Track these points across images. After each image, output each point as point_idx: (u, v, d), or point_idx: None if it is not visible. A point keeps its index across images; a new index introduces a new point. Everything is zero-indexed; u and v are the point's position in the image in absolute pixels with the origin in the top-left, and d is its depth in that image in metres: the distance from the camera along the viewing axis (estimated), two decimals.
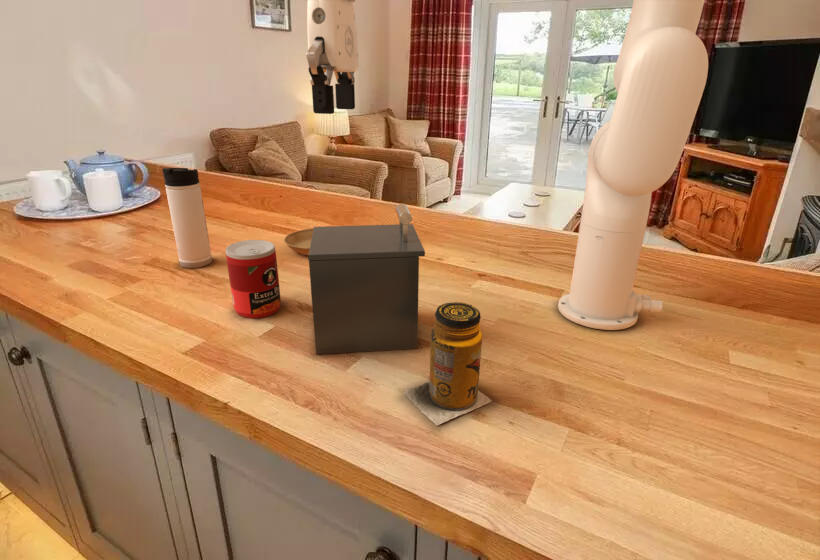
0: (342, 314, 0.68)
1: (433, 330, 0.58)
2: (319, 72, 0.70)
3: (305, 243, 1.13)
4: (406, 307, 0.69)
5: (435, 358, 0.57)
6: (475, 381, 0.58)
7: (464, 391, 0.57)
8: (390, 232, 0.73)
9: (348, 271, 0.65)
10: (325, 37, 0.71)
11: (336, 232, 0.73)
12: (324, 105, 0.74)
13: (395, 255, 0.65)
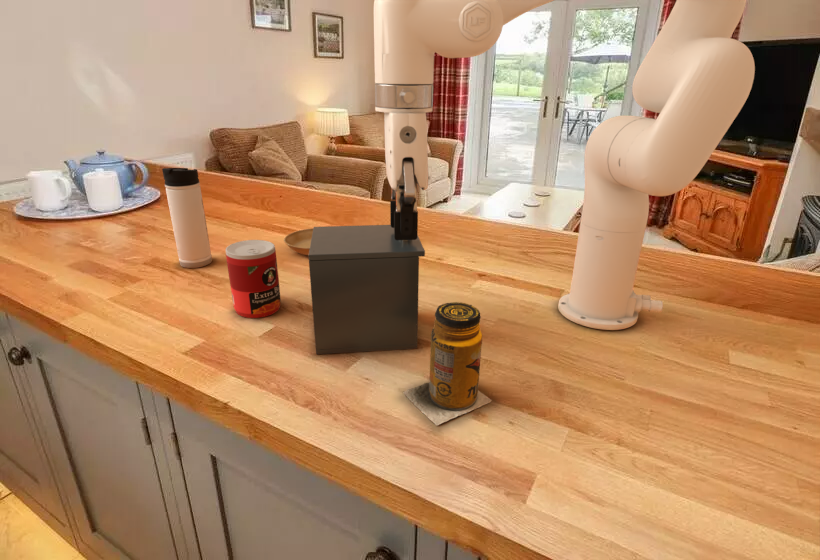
0: (342, 314, 0.68)
1: (433, 330, 0.58)
2: (414, 203, 0.64)
3: (305, 243, 1.13)
4: (406, 307, 0.69)
5: (435, 358, 0.57)
6: (475, 381, 0.58)
7: (464, 391, 0.57)
8: (390, 232, 0.73)
9: (348, 271, 0.65)
10: (415, 157, 0.62)
11: (336, 232, 0.73)
12: (410, 232, 0.67)
13: (395, 255, 0.65)
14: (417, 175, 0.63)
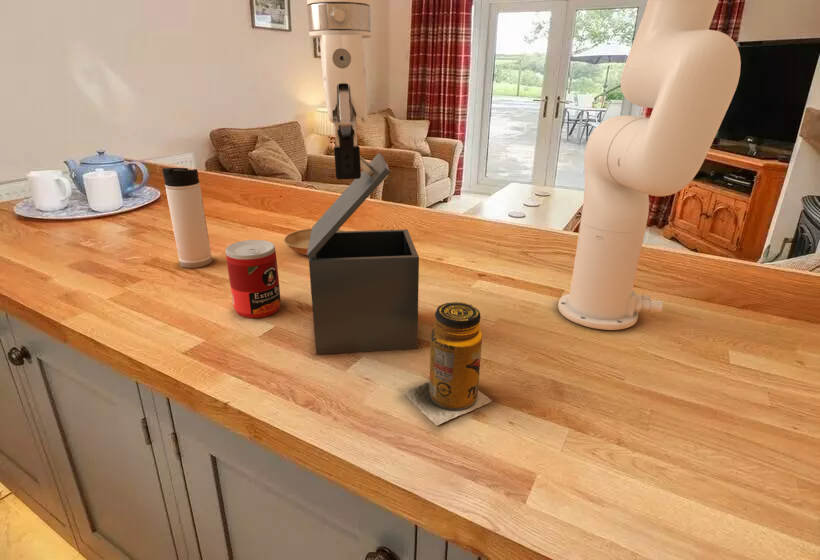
0: (342, 314, 0.68)
1: (433, 330, 0.58)
2: (352, 135, 0.59)
3: (305, 243, 1.13)
4: (406, 307, 0.69)
5: (435, 358, 0.57)
6: (475, 381, 0.58)
7: (464, 391, 0.57)
8: (362, 177, 0.69)
9: (348, 271, 0.65)
10: (351, 84, 0.58)
11: (326, 216, 0.72)
12: (352, 170, 0.63)
13: (367, 194, 0.62)
14: (354, 104, 0.58)
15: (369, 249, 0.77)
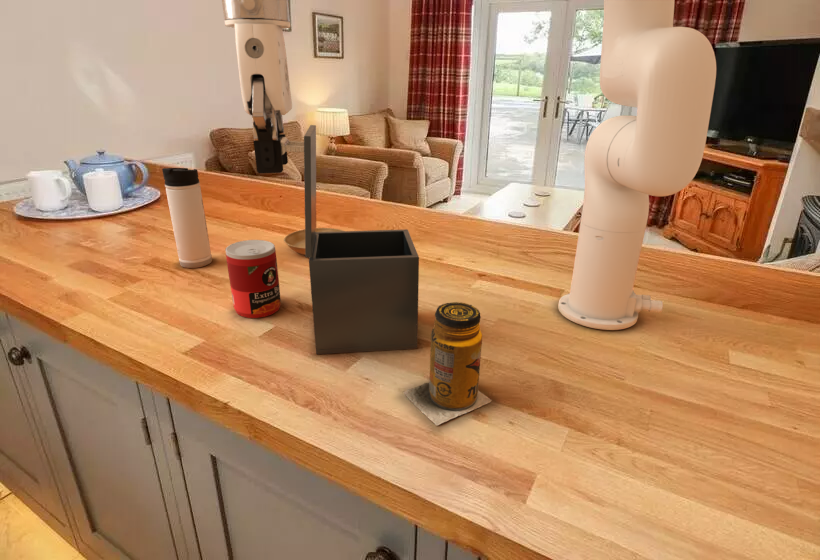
0: (342, 314, 0.68)
1: (433, 330, 0.58)
2: (268, 127, 0.58)
3: None
4: (406, 307, 0.69)
5: (435, 358, 0.57)
6: (475, 381, 0.58)
7: (464, 391, 0.57)
8: None
9: (348, 271, 0.65)
10: (265, 75, 0.56)
11: None
12: (272, 164, 0.61)
13: (308, 169, 0.60)
14: (269, 95, 0.57)
15: (369, 249, 0.77)
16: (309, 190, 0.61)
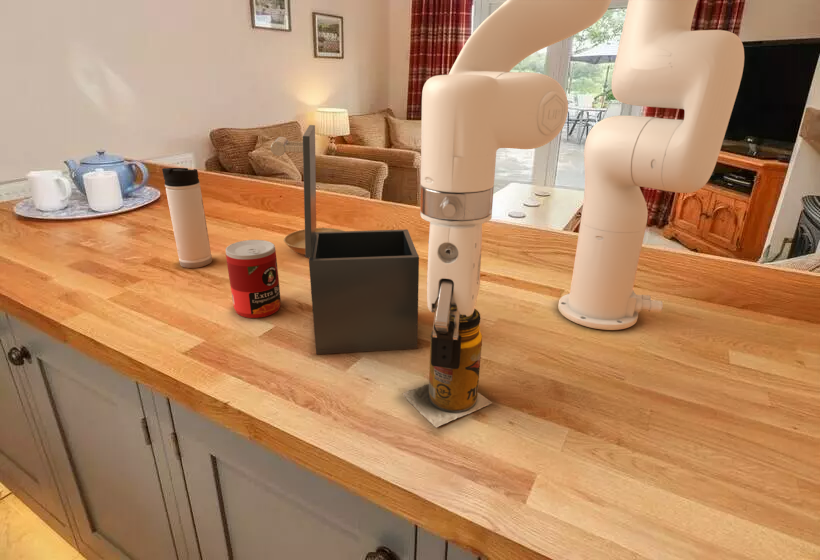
0: (342, 314, 0.68)
1: None
2: (450, 333, 0.51)
3: None
4: (406, 307, 0.69)
5: None
6: (475, 383, 0.58)
7: (463, 393, 0.57)
8: None
9: (348, 271, 0.65)
10: (455, 280, 0.49)
11: None
12: (449, 362, 0.54)
13: (307, 169, 0.60)
14: (457, 298, 0.50)
15: (369, 249, 0.77)
16: (308, 190, 0.61)
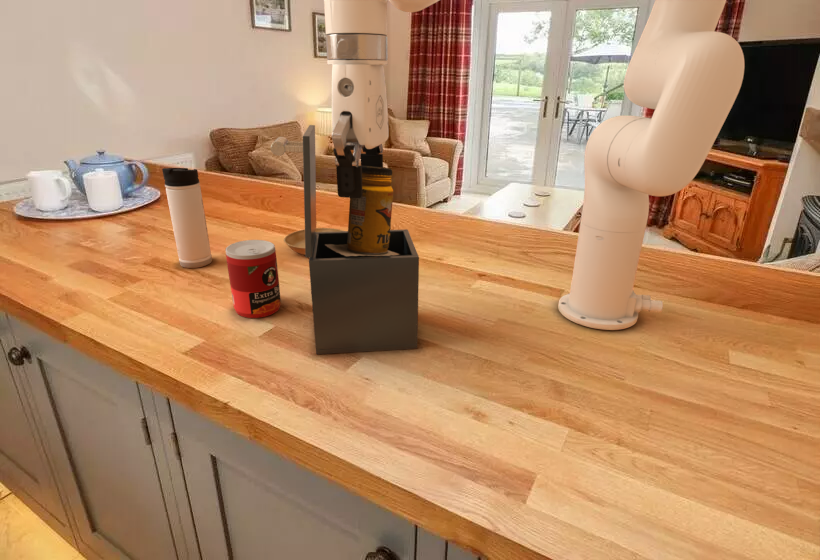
0: (342, 314, 0.68)
1: None
2: (346, 154, 0.59)
3: None
4: (406, 307, 0.69)
5: (351, 205, 0.68)
6: (384, 230, 0.68)
7: (373, 235, 0.67)
8: None
9: (348, 271, 0.65)
10: (353, 112, 0.59)
11: None
12: (351, 189, 0.62)
13: (307, 169, 0.60)
14: (355, 120, 0.59)
15: None
16: (308, 190, 0.61)
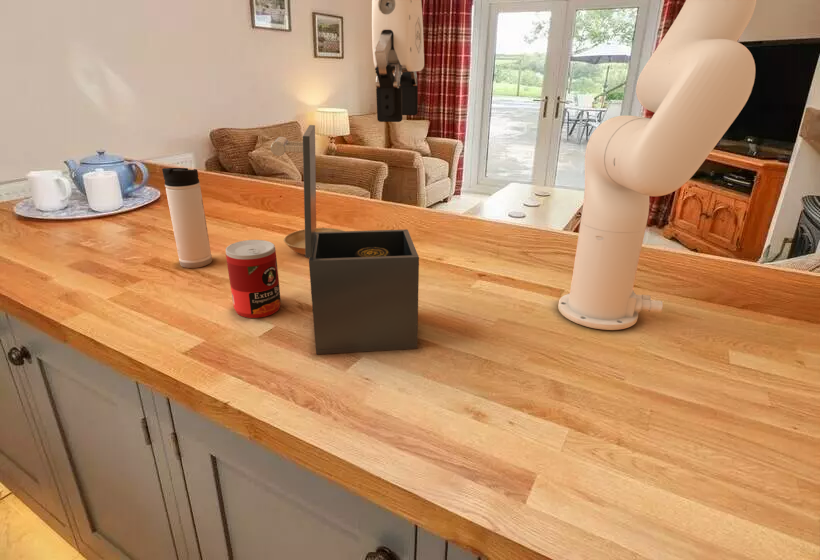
0: (342, 314, 0.68)
1: None
2: (389, 72, 0.58)
3: None
4: (406, 307, 0.69)
5: None
6: None
7: None
8: None
9: (348, 271, 0.65)
10: (394, 30, 0.59)
11: None
12: (392, 112, 0.62)
13: (307, 169, 0.60)
14: (396, 39, 0.59)
15: None
16: (308, 190, 0.61)
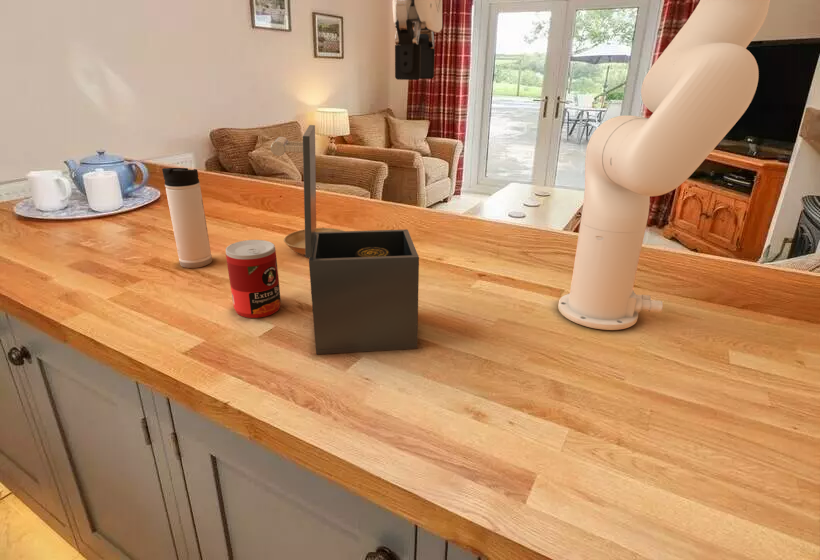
0: (342, 314, 0.68)
1: None
2: (409, 27, 0.58)
3: None
4: (406, 307, 0.69)
5: None
6: None
7: None
8: None
9: (348, 271, 0.65)
10: None
11: None
12: (410, 69, 0.61)
13: (307, 169, 0.60)
14: None
15: None
16: (308, 190, 0.61)
